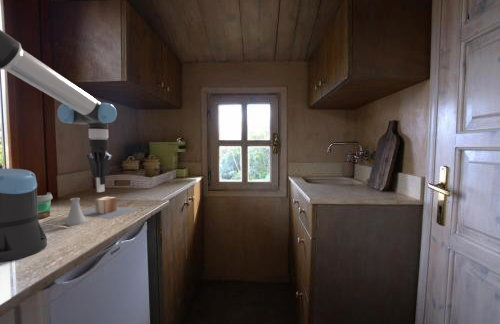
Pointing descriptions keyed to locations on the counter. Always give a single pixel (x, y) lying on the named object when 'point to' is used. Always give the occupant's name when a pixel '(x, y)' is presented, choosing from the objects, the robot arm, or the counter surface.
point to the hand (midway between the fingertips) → (100, 191)
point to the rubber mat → (110, 215)
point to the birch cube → (105, 205)
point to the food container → (44, 205)
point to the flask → (75, 213)
